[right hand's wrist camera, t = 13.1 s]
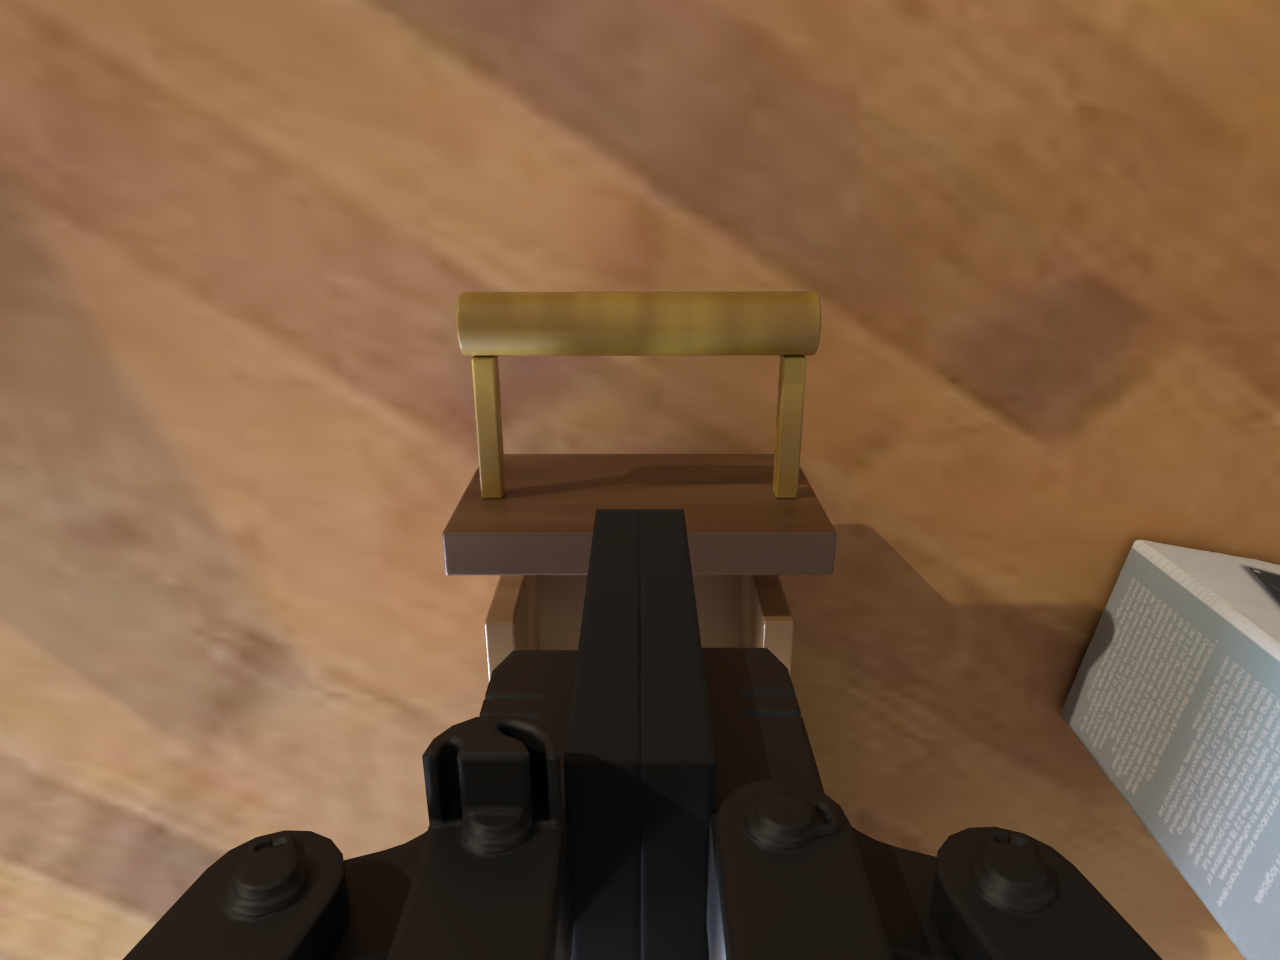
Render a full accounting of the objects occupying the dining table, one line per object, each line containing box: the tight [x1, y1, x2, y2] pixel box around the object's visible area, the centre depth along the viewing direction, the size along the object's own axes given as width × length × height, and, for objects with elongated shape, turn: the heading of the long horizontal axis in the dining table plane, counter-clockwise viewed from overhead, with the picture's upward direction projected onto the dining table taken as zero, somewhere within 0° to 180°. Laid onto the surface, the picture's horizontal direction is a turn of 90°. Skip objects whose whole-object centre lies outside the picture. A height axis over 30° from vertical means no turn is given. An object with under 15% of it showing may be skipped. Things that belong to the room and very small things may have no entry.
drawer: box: [442, 292, 836, 681], centre depth 26 cm, size 23×10×6 cm, turn 0°
